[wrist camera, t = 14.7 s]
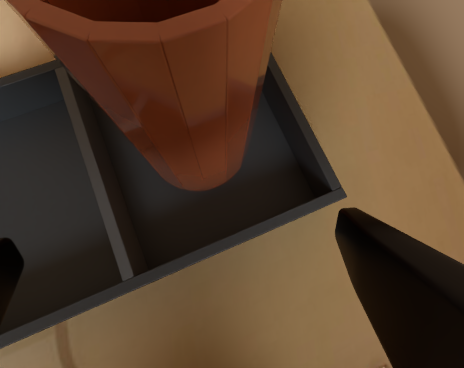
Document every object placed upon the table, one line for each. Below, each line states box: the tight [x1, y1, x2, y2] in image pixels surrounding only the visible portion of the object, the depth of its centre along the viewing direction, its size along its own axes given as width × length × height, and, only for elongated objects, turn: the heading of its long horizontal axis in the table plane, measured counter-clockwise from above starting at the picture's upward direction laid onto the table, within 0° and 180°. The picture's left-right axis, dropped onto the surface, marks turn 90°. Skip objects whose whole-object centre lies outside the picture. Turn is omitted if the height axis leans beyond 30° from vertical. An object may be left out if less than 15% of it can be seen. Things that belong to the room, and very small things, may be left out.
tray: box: [0, 52, 347, 349], centre depth 17 cm, size 14×24×3 cm, turn 113°
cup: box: [4, 0, 282, 192], centre depth 12 cm, size 6×6×13 cm
